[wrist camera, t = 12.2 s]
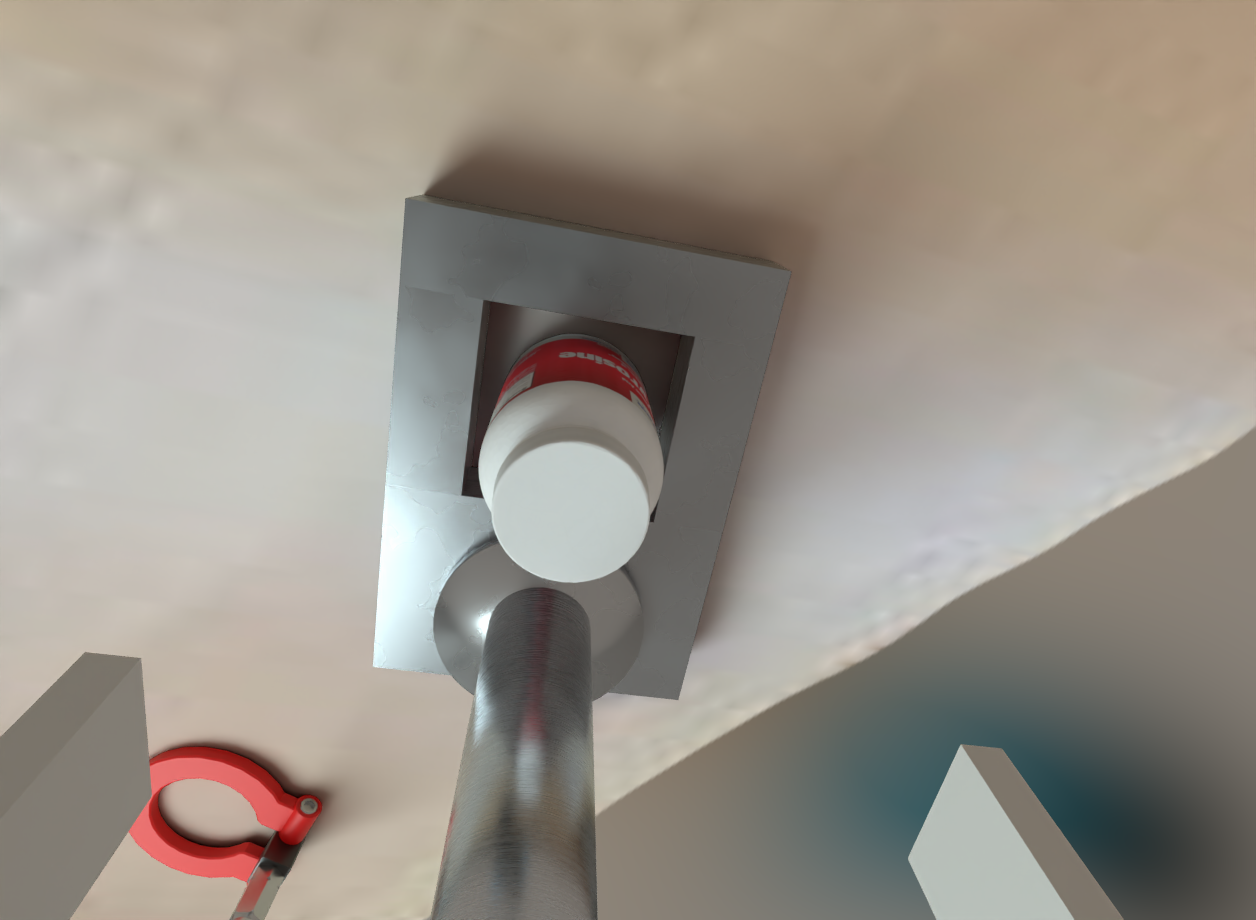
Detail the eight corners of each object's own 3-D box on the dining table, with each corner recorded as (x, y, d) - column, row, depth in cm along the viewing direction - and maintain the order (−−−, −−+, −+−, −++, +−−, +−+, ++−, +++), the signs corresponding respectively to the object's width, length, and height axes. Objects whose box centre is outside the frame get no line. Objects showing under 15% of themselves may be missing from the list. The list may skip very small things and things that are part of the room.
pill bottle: (674, 396, 31) (720, 508, 21) (580, 491, 33) (580, 640, 23) (567, 298, 30) (560, 370, 19) (472, 404, 31) (420, 523, 21)
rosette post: (422, 194, 28) (-87, 300, 7) (771, 261, 30) (1264, 514, 8) (388, 643, 35) (101, 1365, 14) (666, 675, 37) (783, 1359, 16)
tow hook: (111, 822, 39) (272, 886, 41) (-110, 1104, 27) (133, 1176, 29) (167, 715, 37) (335, 788, 39) (-48, 971, 25) (211, 1059, 27)
